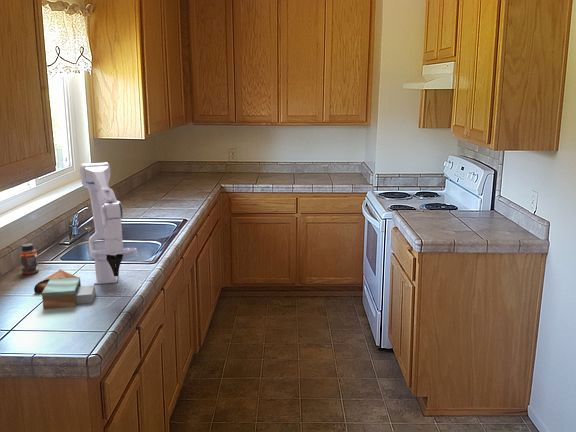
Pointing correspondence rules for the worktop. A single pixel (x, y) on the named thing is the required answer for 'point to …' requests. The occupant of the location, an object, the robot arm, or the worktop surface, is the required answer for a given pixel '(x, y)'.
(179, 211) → the worktop surface
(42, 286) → the sunglasses case
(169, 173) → the worktop surface
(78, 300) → the flat grey cuboid
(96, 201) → the robot arm
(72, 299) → the overhang bridge
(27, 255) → the supplement bottle
